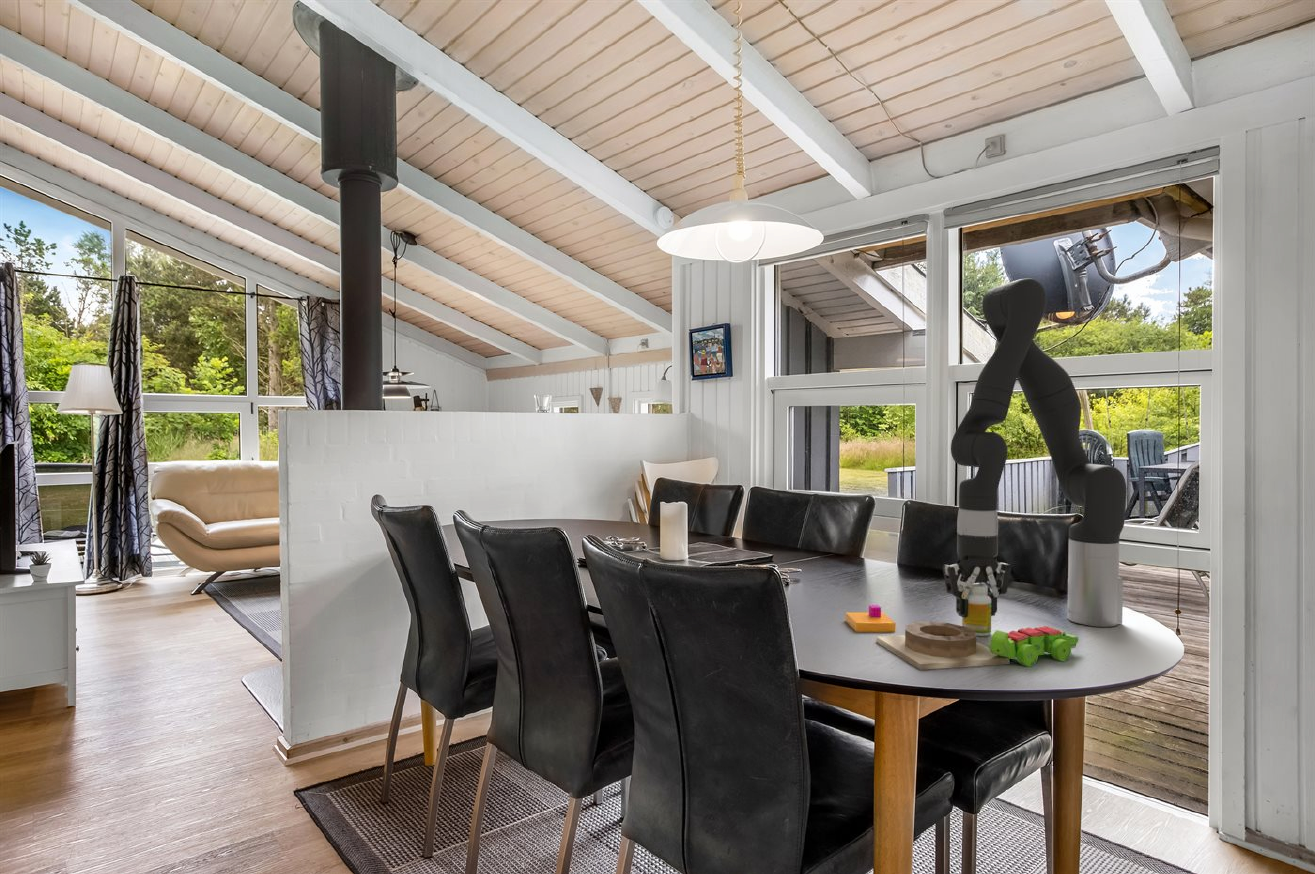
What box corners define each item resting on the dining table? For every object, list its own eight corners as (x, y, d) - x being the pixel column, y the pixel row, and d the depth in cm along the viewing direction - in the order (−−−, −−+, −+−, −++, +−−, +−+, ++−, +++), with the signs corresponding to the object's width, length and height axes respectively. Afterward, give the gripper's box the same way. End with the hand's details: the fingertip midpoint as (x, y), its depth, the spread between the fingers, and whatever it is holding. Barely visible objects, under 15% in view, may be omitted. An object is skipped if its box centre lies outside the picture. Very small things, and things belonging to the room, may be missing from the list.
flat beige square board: (957, 637, 146) (957, 631, 146) (1009, 663, 130) (1009, 658, 130) (876, 641, 143) (876, 636, 143) (920, 669, 127) (920, 663, 127)
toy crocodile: (1057, 647, 140) (1057, 615, 140) (1089, 657, 134) (1089, 624, 134) (976, 659, 133) (976, 626, 133) (1006, 671, 127) (1006, 636, 126)
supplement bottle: (994, 637, 146) (994, 588, 145) (964, 635, 147) (965, 587, 146) (987, 629, 151) (988, 582, 151) (959, 628, 152) (959, 581, 152)
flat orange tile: (895, 633, 150) (895, 612, 150) (856, 633, 150) (856, 612, 150) (883, 622, 158) (883, 602, 158) (845, 622, 158) (845, 602, 158)
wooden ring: (951, 635, 143) (951, 620, 143) (989, 655, 132) (990, 638, 132) (893, 638, 141) (893, 623, 141) (927, 659, 129) (927, 642, 129)
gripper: (998, 527, 153) (997, 609, 154) (934, 529, 151) (933, 612, 151) (1022, 533, 146) (1020, 619, 146) (955, 535, 143) (954, 622, 144)
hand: (976, 615), depth 149 cm, fingers closed on supplement bottle, 5 cm apart
